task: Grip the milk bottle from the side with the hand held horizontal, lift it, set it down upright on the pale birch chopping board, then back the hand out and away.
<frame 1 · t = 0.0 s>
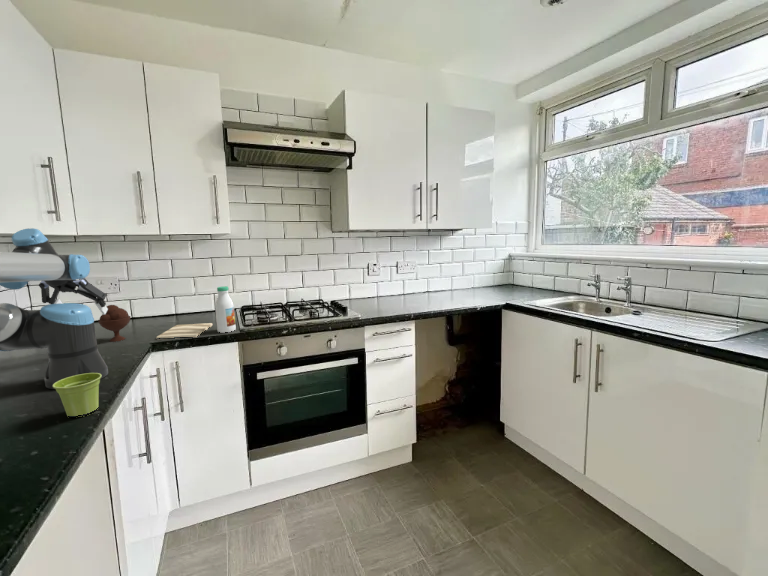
hand: (86, 312, 140), 15 cm above the table, tool tilted 35°, fingers open, 13 cm apart
plant pot: (83, 413, 94), on the table
ice cream bowl: (117, 340, 159), on the table
birch board: (186, 332, 168), on the table
milk bottle: (226, 331, 168), on the table
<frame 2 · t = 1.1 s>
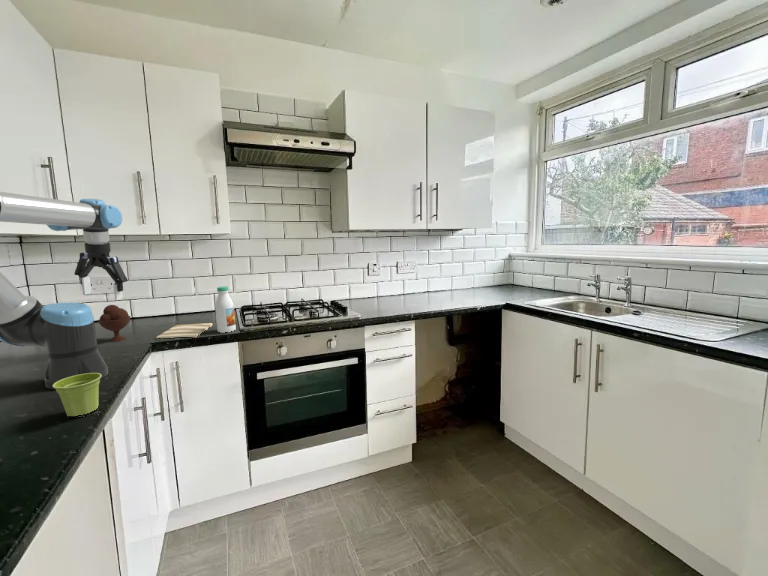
hand: (103, 296, 145), 21 cm above the table, tool pointing down, fingers open, 13 cm apart
nothing on the table moved.
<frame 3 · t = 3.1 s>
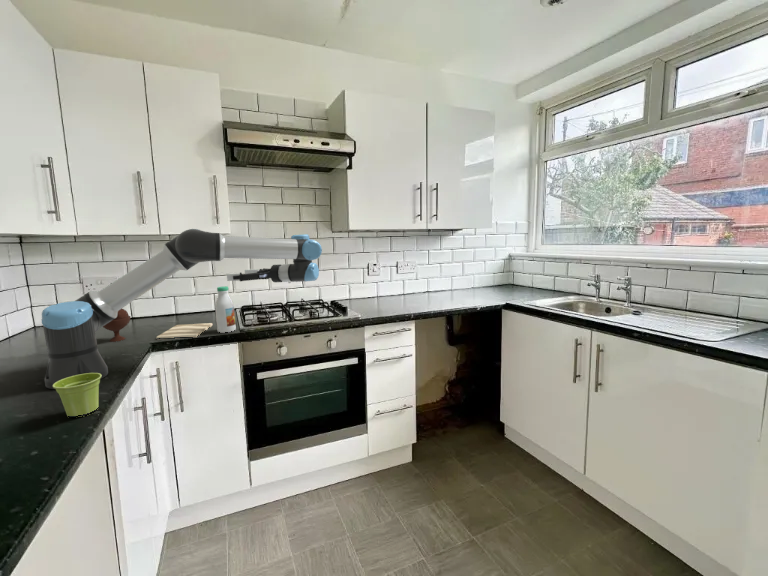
hand: (236, 275, 163), 25 cm above the table, tool horizontal, fingers open, 13 cm apart
nothing on the table moved.
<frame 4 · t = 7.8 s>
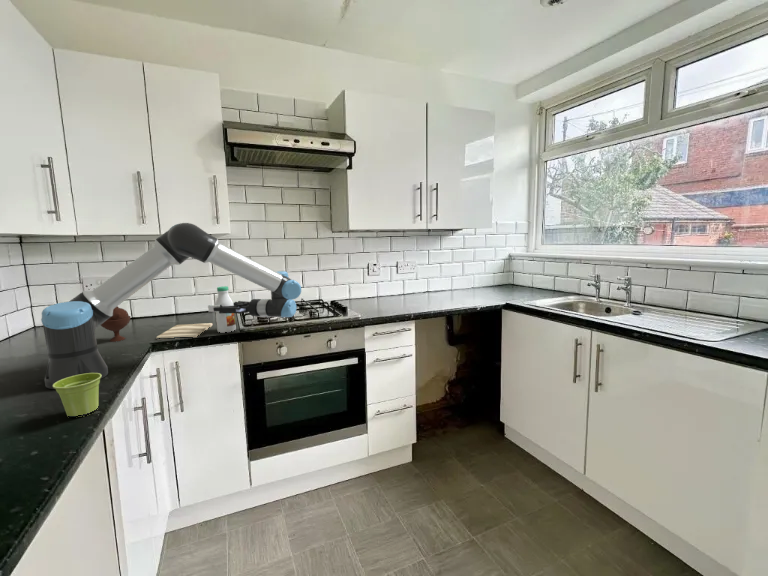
hand: (215, 306, 168), 11 cm above the table, tool horizontal, fingers closed on milk bottle, 7 cm apart
milk bottle: (226, 331, 168), on the table, touching gripper
everything else where it was.
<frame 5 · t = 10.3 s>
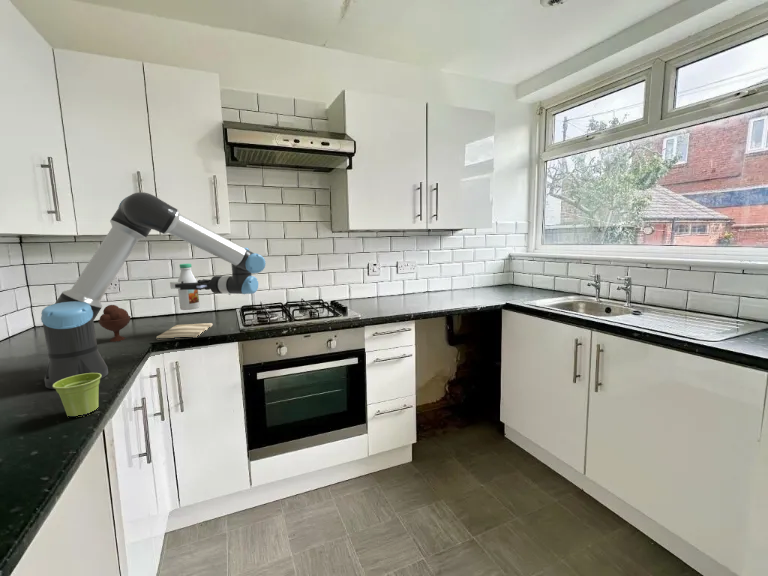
hand: (178, 284, 166), 22 cm above the table, tool horizontal, fingers closed on milk bottle, 7 cm apart
milk bottle: (190, 309, 167), point 10 cm above the table, touching gripper
everything else where it was.
when the fingers open (13 cm above the table, at t = 12.9 s): milk bottle drops 1 cm, resting on birch board.
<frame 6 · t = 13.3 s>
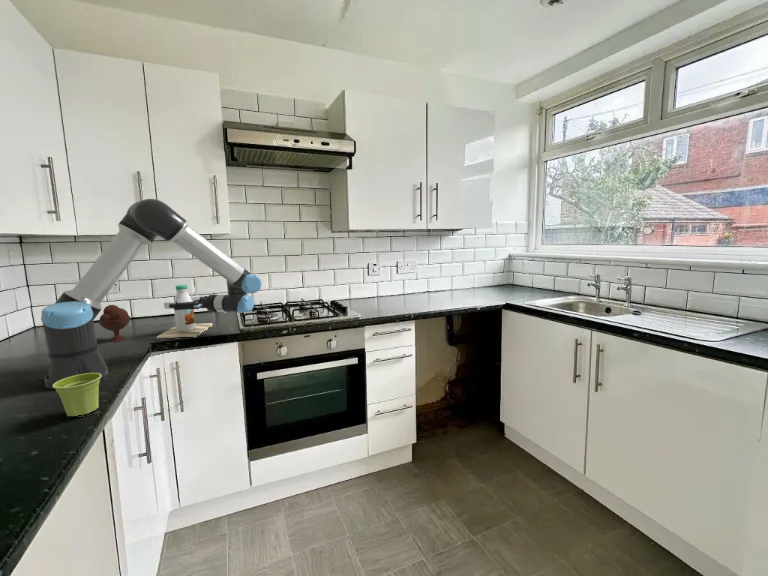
hand: (176, 302, 167), 13 cm above the table, tool horizontal, fingers open, 12 cm apart
milk bottle: (186, 329, 168), point 1 cm above the table, touching birch board
everything else where it was.
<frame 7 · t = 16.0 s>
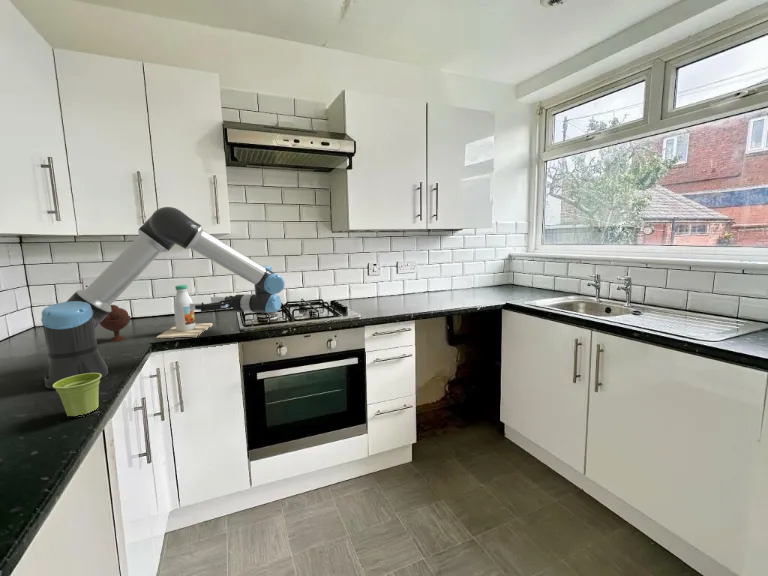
hand: (201, 303, 164), 13 cm above the table, tool horizontal, fingers open, 13 cm apart
nothing on the table moved.
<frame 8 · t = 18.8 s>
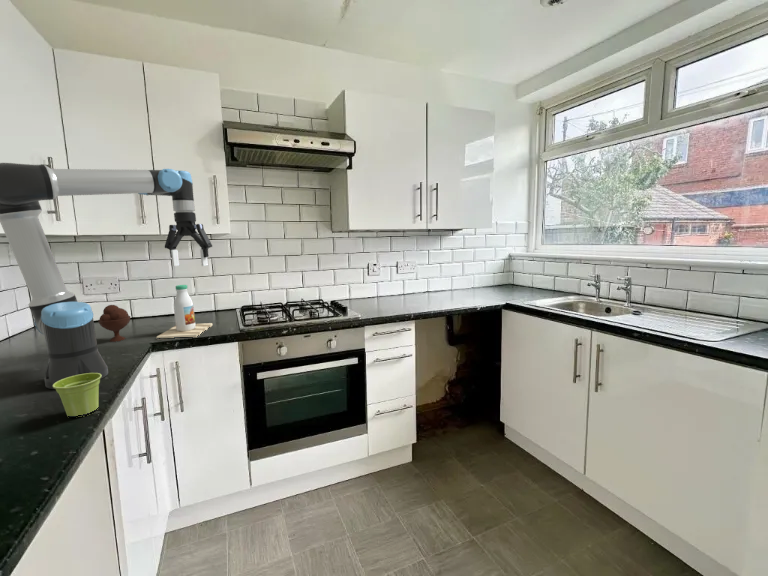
hand: (190, 265, 151), 31 cm above the table, tool pointing down, fingers open, 13 cm apart
nothing on the table moved.
at the end: milk bottle inside the target area on the birch board (0.0 cm from its centre), point 1.0 cm above the birch board's base; milk bottle tilted 0°; the gripper is holding nothing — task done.
